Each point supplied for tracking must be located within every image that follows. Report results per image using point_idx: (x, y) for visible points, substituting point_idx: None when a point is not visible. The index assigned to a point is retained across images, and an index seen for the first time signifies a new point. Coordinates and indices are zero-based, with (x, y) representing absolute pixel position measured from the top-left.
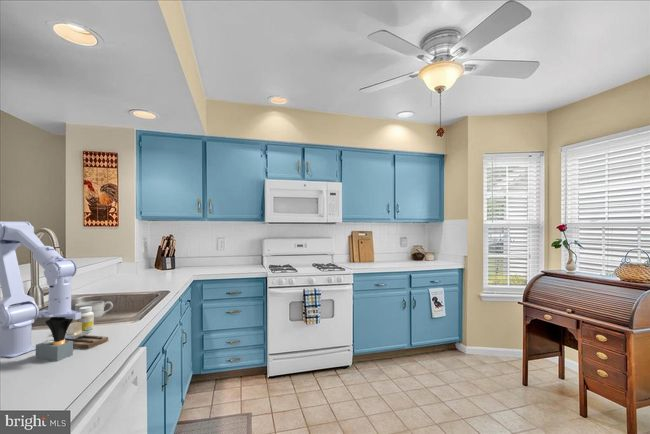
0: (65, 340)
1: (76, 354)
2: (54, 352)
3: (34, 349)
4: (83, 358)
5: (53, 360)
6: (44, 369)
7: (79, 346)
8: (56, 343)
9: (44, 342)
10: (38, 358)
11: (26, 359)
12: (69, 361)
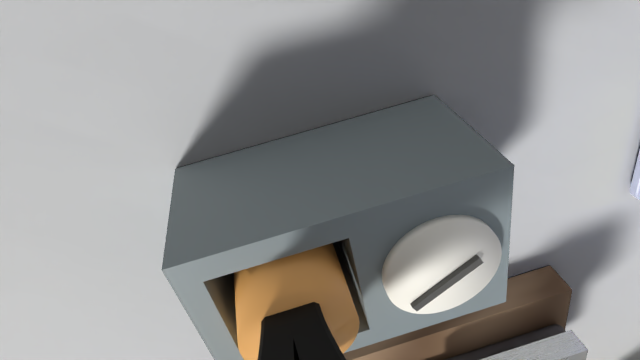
0: None
1: None
2: (212, 207)
3: (636, 171)
4: (45, 297)
5: (222, 157)
6: (6, 9)
7: None
8: (257, 293)
9: (460, 236)
10: (404, 108)
11: (508, 50)
12: (65, 219)
